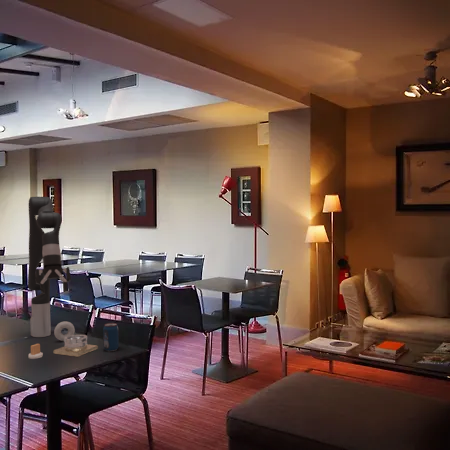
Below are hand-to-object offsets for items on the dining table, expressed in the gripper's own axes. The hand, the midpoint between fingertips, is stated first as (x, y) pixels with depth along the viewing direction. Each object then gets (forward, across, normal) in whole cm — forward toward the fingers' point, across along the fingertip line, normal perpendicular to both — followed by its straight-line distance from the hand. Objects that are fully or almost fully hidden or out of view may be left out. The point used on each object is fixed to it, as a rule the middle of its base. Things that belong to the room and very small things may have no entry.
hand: (54, 292), depth 219 cm
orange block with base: (+24, +8, -24) cm, 35 cm away
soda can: (+26, -25, -21) cm, 42 cm away
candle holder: (+24, -10, -25) cm, 36 cm away
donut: (+16, -7, -46) cm, 49 cm away
